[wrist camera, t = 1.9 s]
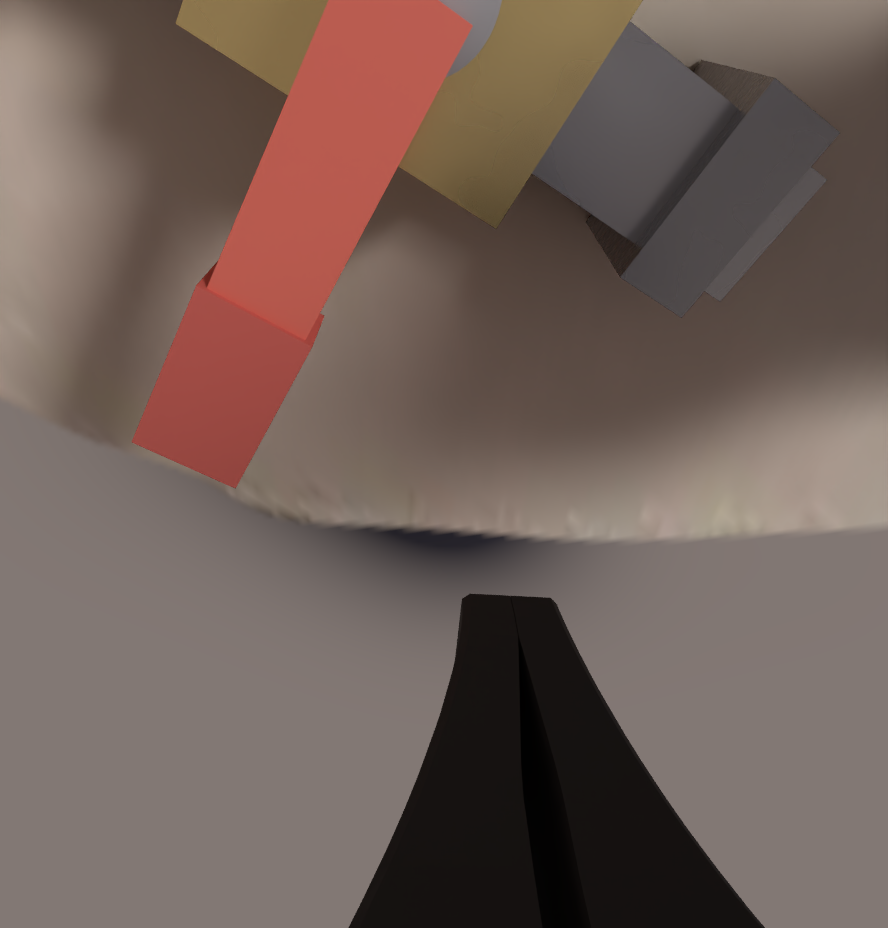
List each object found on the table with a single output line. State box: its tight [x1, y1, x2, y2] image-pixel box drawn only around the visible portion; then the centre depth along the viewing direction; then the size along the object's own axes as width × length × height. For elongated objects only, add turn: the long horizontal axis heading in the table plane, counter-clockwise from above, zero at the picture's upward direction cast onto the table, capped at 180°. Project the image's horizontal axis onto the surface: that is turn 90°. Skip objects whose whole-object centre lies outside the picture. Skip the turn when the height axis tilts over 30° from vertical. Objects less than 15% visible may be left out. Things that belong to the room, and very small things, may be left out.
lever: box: [132, 0, 502, 488], centre depth 11 cm, size 10×2×2 cm, turn 149°
